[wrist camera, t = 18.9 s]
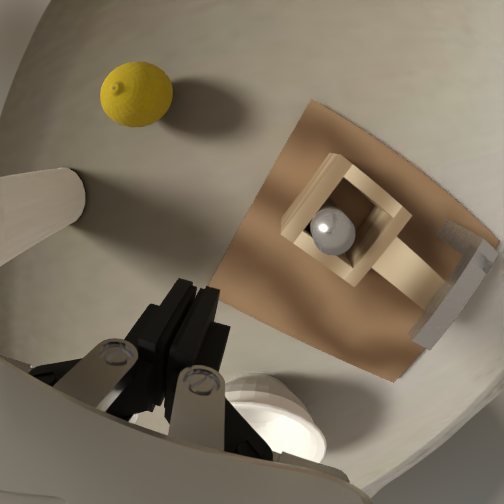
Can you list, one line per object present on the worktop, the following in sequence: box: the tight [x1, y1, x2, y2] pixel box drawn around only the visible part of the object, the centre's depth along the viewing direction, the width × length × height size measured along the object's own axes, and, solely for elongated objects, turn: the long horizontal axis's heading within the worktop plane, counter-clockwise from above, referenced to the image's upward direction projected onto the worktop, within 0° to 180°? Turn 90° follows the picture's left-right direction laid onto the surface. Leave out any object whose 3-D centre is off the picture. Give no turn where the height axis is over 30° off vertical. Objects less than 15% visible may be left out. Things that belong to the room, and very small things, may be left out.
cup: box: [0, 168, 85, 266], centre depth 23 cm, size 8×8×14 cm
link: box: [281, 153, 445, 311], centre depth 24 cm, size 17×7×5 cm, turn 56°
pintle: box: [308, 198, 355, 256], centre depth 23 cm, size 3×3×7 cm
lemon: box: [100, 62, 173, 127], centre depth 22 cm, size 6×6×8 cm
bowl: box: [225, 373, 327, 463], centre depth 32 cm, size 16×16×9 cm
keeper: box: [408, 219, 499, 350], centre depth 24 cm, size 10×2×7 cm, turn 152°
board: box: [208, 99, 499, 383], centre depth 28 cm, size 20×24×1 cm
